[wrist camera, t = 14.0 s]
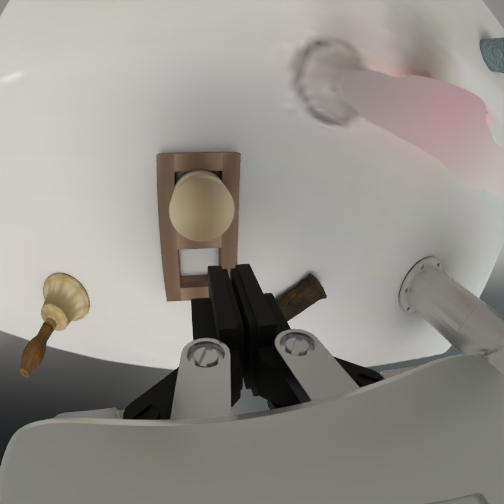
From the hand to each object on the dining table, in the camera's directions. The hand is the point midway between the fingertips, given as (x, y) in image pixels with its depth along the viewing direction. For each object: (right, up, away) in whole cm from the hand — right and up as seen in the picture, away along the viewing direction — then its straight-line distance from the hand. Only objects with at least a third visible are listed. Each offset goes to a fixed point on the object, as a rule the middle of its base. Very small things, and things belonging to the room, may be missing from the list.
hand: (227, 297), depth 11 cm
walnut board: (-6, +5, +22) cm, 24 cm away
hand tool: (+3, -8, +31) cm, 32 cm away
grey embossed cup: (+57, +48, +18) cm, 77 cm away
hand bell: (-27, -5, +22) cm, 35 cm away
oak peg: (-5, +9, +20) cm, 23 cm away
